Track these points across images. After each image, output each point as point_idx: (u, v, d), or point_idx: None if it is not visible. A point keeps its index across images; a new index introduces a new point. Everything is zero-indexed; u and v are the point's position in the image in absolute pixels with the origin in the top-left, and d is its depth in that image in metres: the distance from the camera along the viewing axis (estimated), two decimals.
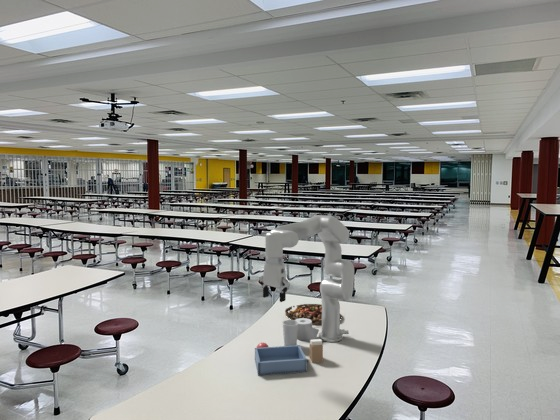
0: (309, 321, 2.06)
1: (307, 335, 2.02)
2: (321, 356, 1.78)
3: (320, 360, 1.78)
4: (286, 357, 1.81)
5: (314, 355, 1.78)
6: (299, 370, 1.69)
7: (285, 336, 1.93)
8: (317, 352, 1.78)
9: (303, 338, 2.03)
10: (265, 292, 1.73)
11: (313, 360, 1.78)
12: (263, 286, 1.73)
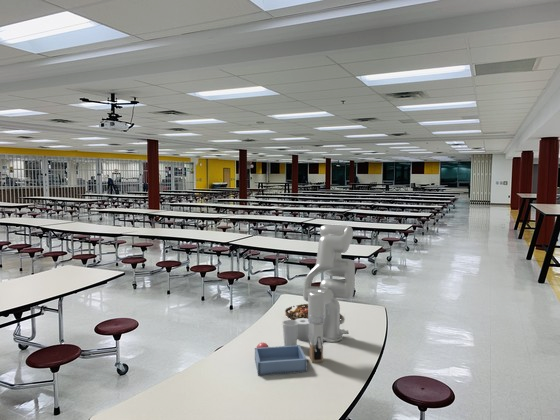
0: None
1: (307, 335, 2.02)
2: (321, 356, 1.78)
3: (320, 360, 1.78)
4: (286, 357, 1.81)
5: None
6: (299, 370, 1.69)
7: (285, 336, 1.93)
8: None
9: (303, 338, 2.03)
10: None
11: (313, 360, 1.78)
12: None
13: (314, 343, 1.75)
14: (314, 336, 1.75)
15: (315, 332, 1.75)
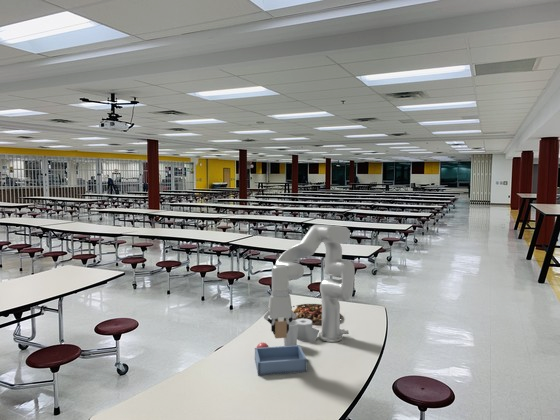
0: (309, 321, 2.06)
1: (307, 336, 2.02)
2: (275, 332, 1.72)
3: (275, 335, 1.72)
4: (286, 357, 1.81)
5: None
6: (299, 370, 1.69)
7: None
8: None
9: (303, 338, 2.03)
10: None
11: None
12: (273, 323, 1.72)
13: None
14: None
15: None
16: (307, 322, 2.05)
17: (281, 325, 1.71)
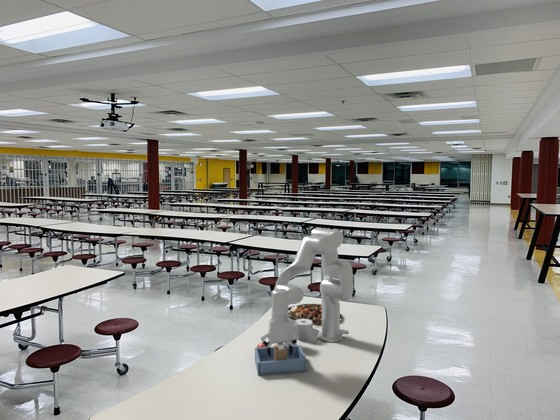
0: (310, 322, 2.05)
1: (307, 336, 2.02)
2: (275, 359, 1.73)
3: None
4: None
5: (274, 355, 1.76)
6: (299, 370, 1.69)
7: None
8: (274, 353, 1.74)
9: (303, 339, 2.02)
10: (270, 351, 1.73)
11: (274, 359, 1.76)
12: (269, 345, 1.72)
13: None
14: None
15: None
16: (307, 322, 2.05)
17: (281, 353, 1.72)
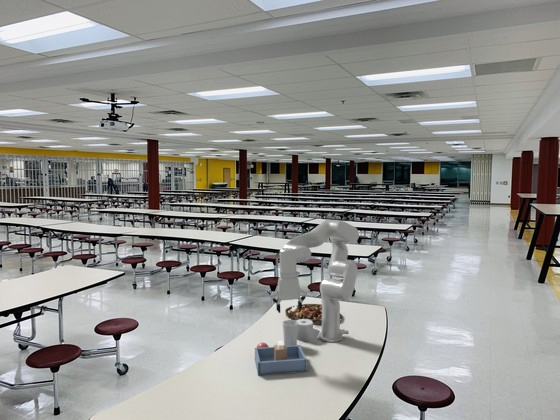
0: (310, 322, 2.05)
1: (308, 336, 2.01)
2: (275, 359, 1.73)
3: None
4: None
5: (274, 355, 1.76)
6: (299, 370, 1.69)
7: (285, 336, 1.93)
8: (274, 353, 1.74)
9: (304, 339, 2.02)
10: None
11: (274, 359, 1.76)
12: (278, 302, 1.77)
13: None
14: None
15: None
16: (308, 323, 2.04)
17: (281, 353, 1.72)
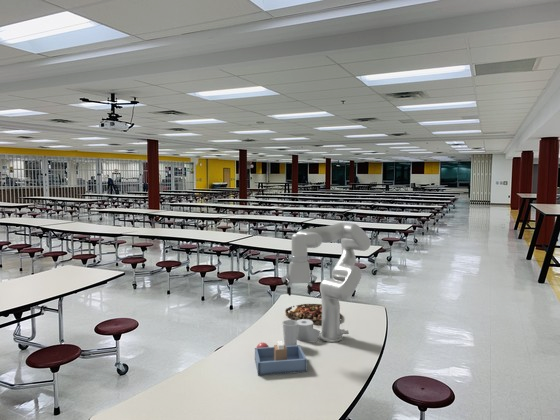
0: (310, 322, 2.05)
1: (308, 337, 2.01)
2: (275, 359, 1.73)
3: None
4: None
5: (274, 355, 1.76)
6: (299, 370, 1.69)
7: (285, 336, 1.93)
8: (274, 353, 1.74)
9: (304, 339, 2.01)
10: None
11: (274, 359, 1.76)
12: (289, 285, 1.85)
13: (288, 278, 1.88)
14: None
15: None
16: (308, 323, 2.04)
17: (281, 353, 1.72)
